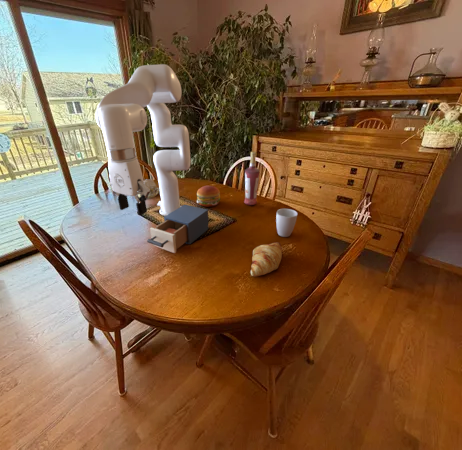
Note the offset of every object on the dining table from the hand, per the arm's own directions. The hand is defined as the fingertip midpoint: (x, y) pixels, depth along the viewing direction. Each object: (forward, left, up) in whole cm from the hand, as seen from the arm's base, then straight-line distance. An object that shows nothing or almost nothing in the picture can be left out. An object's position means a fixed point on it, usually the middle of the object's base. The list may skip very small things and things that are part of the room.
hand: (133, 210), depth 75 cm
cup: (+37, +46, -22) cm, 63 cm away
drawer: (0, +15, -21) cm, 26 cm away
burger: (-9, +59, -22) cm, 64 cm away
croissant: (+37, +23, -22) cm, 49 cm away
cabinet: (0, +27, -22) cm, 35 cm away
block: (0, +16, -20) cm, 25 cm away
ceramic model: (-50, +54, -22) cm, 77 cm away
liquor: (+12, +69, -22) cm, 73 cm away
